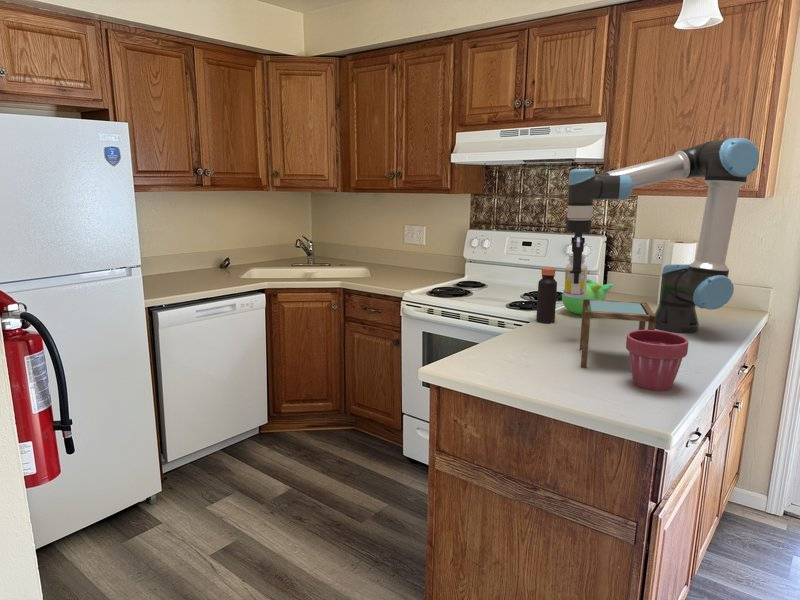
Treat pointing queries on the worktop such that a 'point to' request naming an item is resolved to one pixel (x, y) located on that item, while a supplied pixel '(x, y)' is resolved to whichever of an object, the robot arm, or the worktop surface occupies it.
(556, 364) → the worktop surface
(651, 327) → the frame
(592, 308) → the trapdoor
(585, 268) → the supplement bottle
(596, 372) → the worktop surface
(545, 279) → the vinegar
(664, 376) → the plant pot
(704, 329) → the worktop surface
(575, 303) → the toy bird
